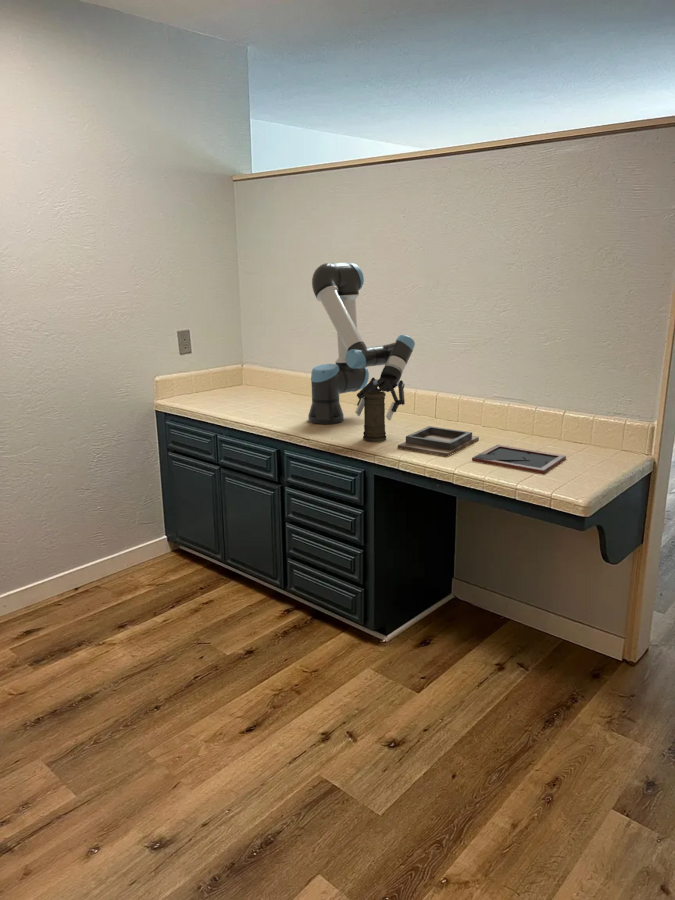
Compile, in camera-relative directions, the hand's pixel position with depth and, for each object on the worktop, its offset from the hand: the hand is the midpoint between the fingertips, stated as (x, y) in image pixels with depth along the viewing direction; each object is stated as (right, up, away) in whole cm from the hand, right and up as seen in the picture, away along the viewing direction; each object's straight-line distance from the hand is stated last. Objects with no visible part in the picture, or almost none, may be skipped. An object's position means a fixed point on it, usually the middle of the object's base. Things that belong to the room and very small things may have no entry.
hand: (372, 416), depth 253 cm
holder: (+24, -10, -4) cm, 27 cm away
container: (+1, -9, +4) cm, 10 cm away
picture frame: (+48, -17, -24) cm, 57 cm away
